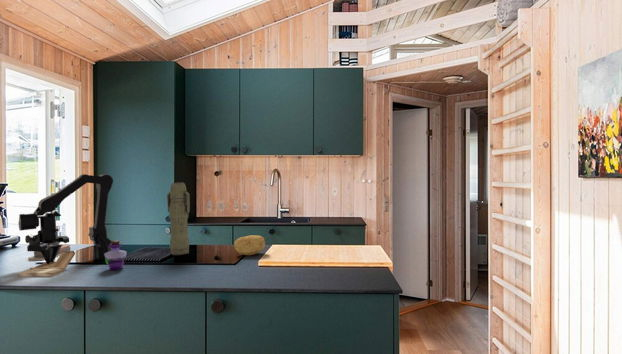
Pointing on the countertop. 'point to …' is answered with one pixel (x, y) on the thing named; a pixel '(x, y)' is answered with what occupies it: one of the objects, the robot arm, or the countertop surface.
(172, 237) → the olive stone statue
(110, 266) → the potion bottle
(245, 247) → the potato
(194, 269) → the countertop surface
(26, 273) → the pine floorboard strip
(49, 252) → the robot arm
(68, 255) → the inner oak plank
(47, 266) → the outer oak plank
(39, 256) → the packaged product
